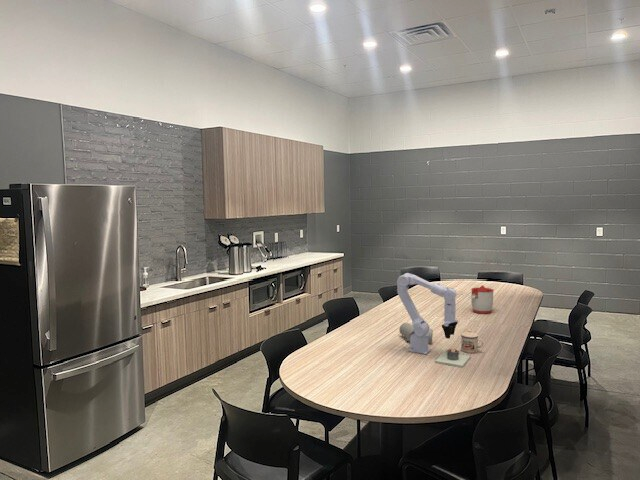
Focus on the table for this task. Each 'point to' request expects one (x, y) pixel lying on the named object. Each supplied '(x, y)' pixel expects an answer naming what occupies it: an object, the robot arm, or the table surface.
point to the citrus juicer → (482, 300)
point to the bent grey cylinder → (412, 332)
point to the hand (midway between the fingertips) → (449, 336)
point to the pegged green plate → (458, 363)
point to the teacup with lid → (470, 342)
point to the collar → (452, 355)
